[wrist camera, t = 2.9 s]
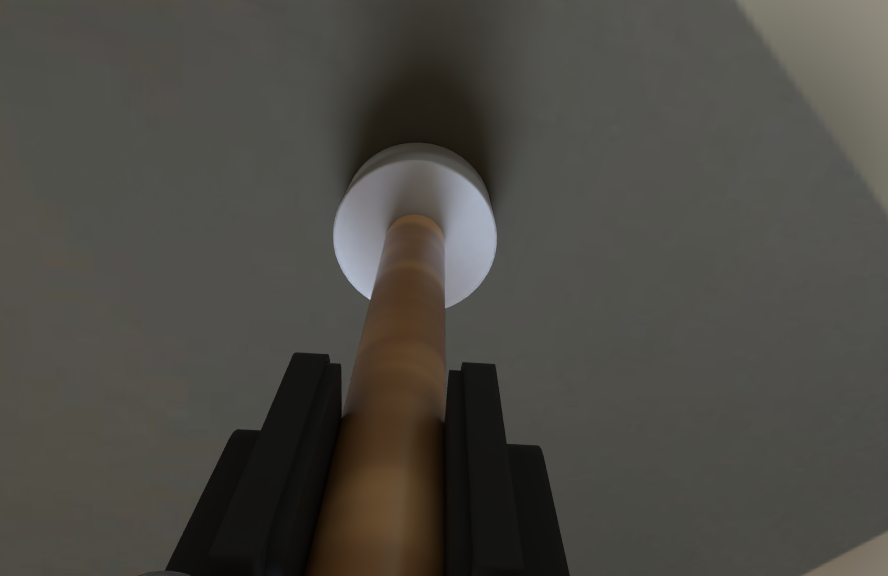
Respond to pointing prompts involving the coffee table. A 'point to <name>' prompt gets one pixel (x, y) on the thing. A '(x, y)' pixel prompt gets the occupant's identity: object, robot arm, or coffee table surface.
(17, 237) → the coffee table surface
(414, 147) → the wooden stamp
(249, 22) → the coffee table surface
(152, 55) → the coffee table surface
